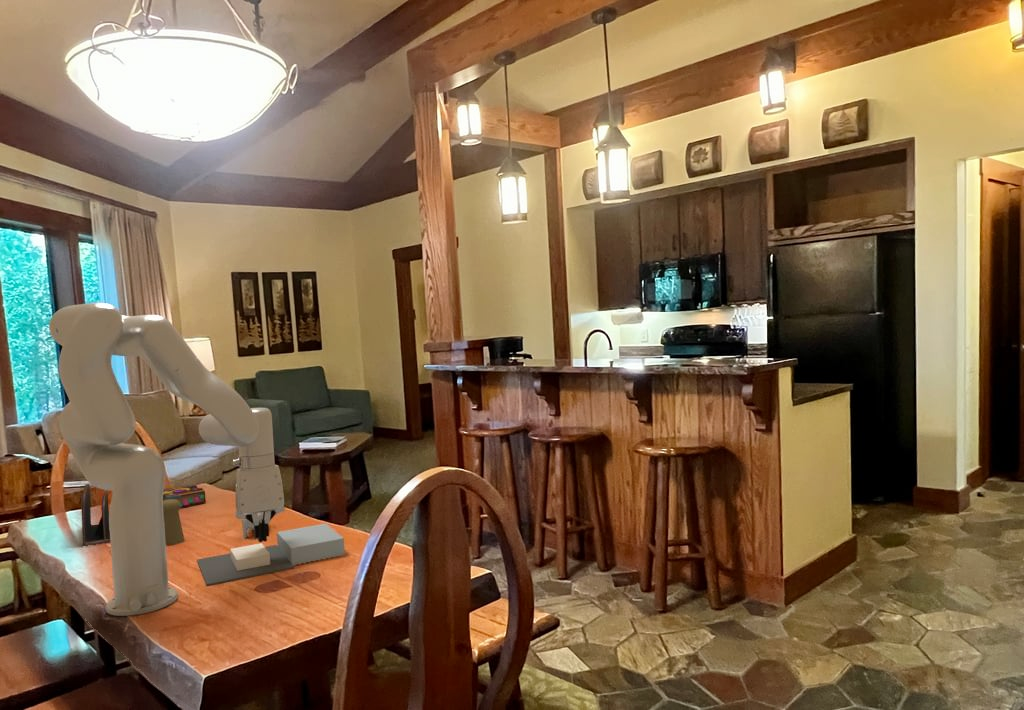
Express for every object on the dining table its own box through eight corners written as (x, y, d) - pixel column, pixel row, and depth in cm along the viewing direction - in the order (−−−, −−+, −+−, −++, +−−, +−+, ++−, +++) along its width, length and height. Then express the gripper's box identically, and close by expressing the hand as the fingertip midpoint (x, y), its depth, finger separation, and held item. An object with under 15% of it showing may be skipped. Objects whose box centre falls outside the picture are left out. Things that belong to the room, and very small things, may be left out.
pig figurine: (271, 524, 195) (269, 486, 195) (262, 537, 183) (259, 497, 182) (251, 526, 195) (249, 488, 194) (241, 539, 182) (238, 498, 182)
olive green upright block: (156, 546, 179) (153, 504, 179) (161, 540, 185) (158, 498, 185) (182, 543, 181) (179, 501, 180) (186, 537, 187) (183, 496, 186)
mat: (294, 568, 157) (294, 566, 157) (206, 586, 148) (206, 584, 148) (276, 546, 174) (276, 544, 174) (197, 561, 166) (196, 559, 166)
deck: (344, 555, 165) (343, 538, 165) (292, 565, 159) (291, 548, 159) (326, 539, 179) (325, 523, 178) (277, 548, 173) (276, 532, 173)
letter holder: (82, 547, 182) (78, 493, 182) (88, 530, 200) (85, 480, 200) (126, 540, 187) (122, 488, 187) (128, 524, 205) (125, 475, 204)
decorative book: (193, 497, 237) (192, 482, 237) (208, 504, 224) (207, 489, 224) (156, 503, 230) (155, 488, 229) (169, 512, 217) (168, 496, 217)
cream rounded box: (236, 560, 156) (237, 570, 156) (269, 553, 159) (270, 564, 159) (230, 548, 165) (231, 559, 165) (261, 543, 168) (262, 553, 168)
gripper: (224, 468, 156) (229, 550, 156) (294, 459, 163) (298, 538, 164) (220, 463, 162) (225, 542, 163) (287, 455, 169) (291, 531, 170)
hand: (262, 540), depth 163 cm, fingers closed
